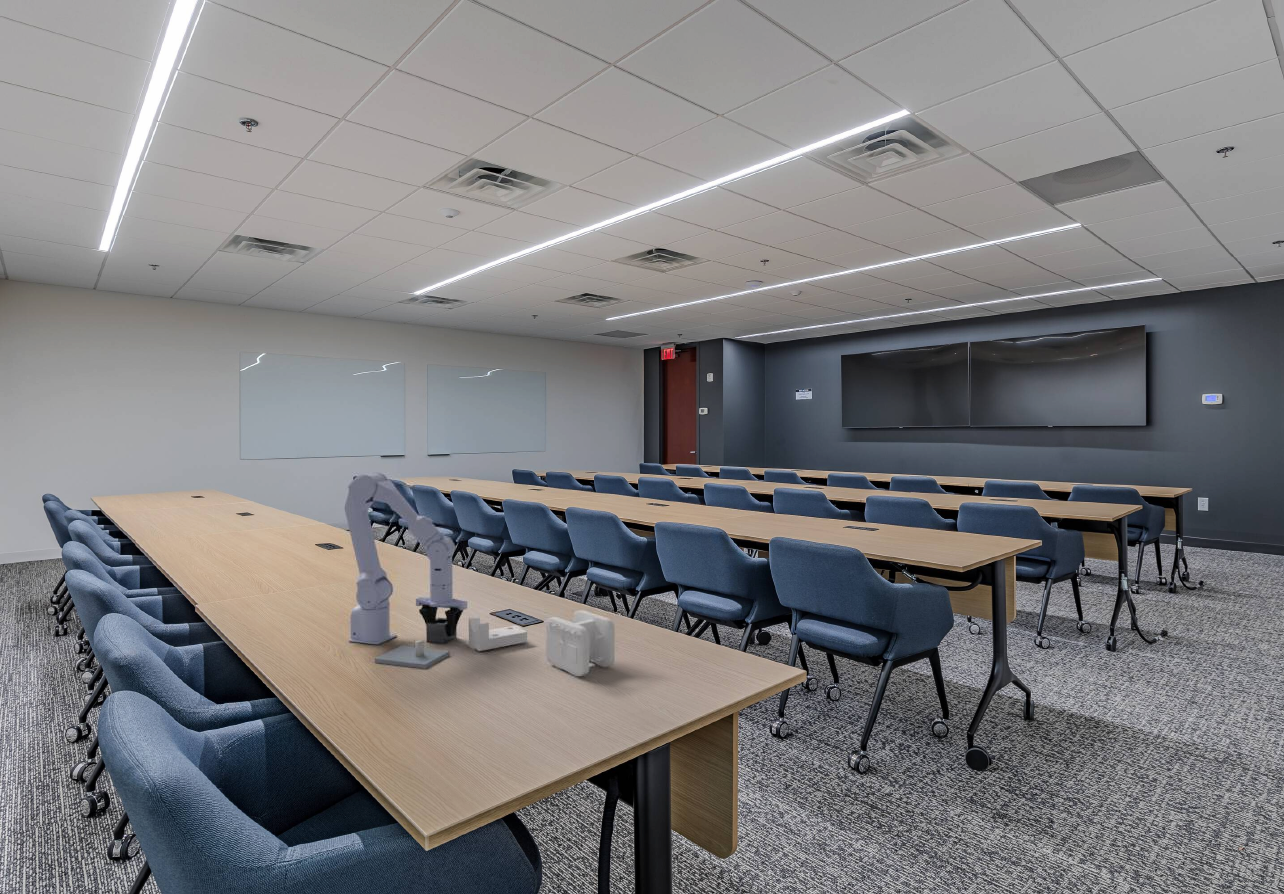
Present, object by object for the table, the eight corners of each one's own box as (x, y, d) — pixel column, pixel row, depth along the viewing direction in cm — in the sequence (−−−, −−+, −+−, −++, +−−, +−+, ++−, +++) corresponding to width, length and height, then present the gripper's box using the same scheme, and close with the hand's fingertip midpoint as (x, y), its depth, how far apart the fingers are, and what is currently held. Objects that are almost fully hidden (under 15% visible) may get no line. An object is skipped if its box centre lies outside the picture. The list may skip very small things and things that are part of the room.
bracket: (479, 654, 168) (478, 624, 168) (468, 647, 174) (468, 617, 174) (527, 645, 175) (526, 616, 175) (515, 638, 181) (515, 610, 181)
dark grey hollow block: (426, 641, 177) (426, 622, 177) (438, 635, 183) (438, 617, 182) (444, 643, 176) (444, 624, 176) (456, 637, 181) (456, 619, 181)
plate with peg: (374, 662, 162) (374, 643, 161) (401, 649, 171) (401, 631, 171) (424, 668, 157) (424, 649, 157) (449, 655, 167) (449, 636, 167)
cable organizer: (617, 670, 156) (617, 620, 156) (581, 681, 149) (581, 629, 149) (578, 654, 168) (578, 607, 167) (543, 664, 161) (543, 615, 160)
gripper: (408, 584, 177) (408, 636, 177) (456, 588, 173) (456, 641, 173) (424, 579, 184) (425, 628, 184) (471, 582, 179) (471, 633, 180)
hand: (441, 634), depth 179 cm, fingers closed on dark grey hollow block, 5 cm apart
